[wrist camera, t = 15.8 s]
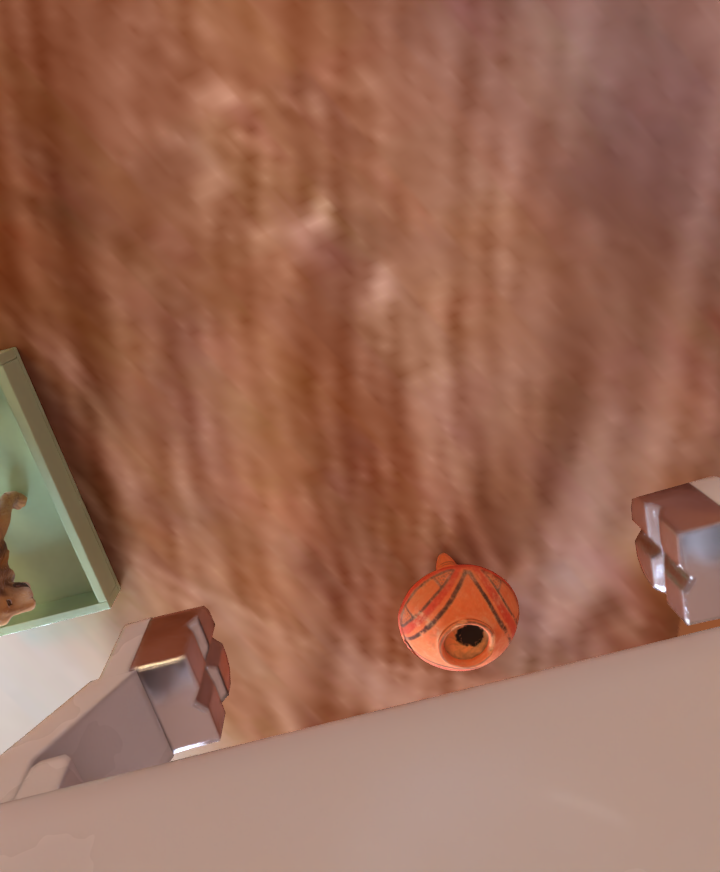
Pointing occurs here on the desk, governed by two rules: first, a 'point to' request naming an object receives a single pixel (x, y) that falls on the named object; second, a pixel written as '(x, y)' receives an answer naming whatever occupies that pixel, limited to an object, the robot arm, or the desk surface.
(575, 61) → the desk surface
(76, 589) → the tray
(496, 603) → the pot
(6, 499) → the lion figurine
